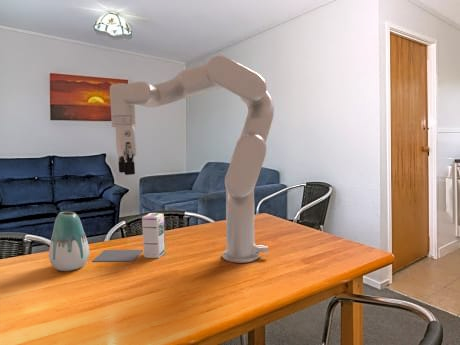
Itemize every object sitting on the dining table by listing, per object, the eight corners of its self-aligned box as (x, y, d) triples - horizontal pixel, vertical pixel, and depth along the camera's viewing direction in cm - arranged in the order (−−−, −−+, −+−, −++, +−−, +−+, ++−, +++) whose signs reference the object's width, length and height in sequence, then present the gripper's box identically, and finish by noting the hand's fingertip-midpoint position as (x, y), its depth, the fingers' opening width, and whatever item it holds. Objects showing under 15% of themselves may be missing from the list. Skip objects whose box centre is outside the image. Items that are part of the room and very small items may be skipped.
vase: (97, 262, 112) (95, 209, 110) (70, 276, 101) (67, 217, 99) (70, 259, 115) (67, 207, 113) (41, 271, 104) (37, 215, 103)
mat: (142, 250, 123) (142, 249, 123) (134, 261, 112) (133, 260, 112) (104, 250, 123) (104, 249, 123) (92, 261, 113) (92, 260, 112)
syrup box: (159, 258, 115) (158, 216, 113) (143, 257, 116) (141, 216, 115) (165, 252, 120) (164, 213, 119) (150, 252, 122) (148, 212, 120)
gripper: (141, 120, 106) (144, 174, 108) (129, 123, 122) (132, 170, 123) (116, 120, 103) (120, 176, 105) (107, 123, 118) (111, 172, 120)
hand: (126, 173), depth 114 cm, fingers open, 9 cm apart
